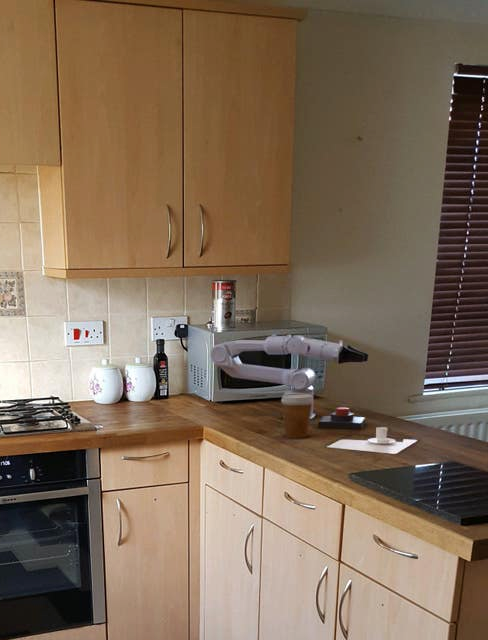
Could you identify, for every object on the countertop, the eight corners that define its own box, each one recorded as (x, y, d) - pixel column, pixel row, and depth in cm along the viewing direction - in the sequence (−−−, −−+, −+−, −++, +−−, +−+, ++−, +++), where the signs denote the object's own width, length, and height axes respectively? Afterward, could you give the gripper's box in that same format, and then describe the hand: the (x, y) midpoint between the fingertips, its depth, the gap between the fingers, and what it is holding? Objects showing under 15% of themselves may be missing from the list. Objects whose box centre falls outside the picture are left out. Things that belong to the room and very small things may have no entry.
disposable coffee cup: (314, 433, 264) (316, 393, 260) (309, 439, 255) (310, 398, 251) (283, 432, 267) (284, 392, 263) (277, 438, 258) (277, 397, 254)
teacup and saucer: (389, 446, 244) (390, 432, 243) (362, 444, 248) (362, 429, 247) (399, 441, 251) (400, 426, 250) (372, 438, 255) (373, 424, 254)
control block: (318, 428, 271) (318, 415, 270) (323, 422, 280) (323, 410, 279) (360, 430, 267) (361, 417, 266) (364, 424, 276) (365, 411, 275)
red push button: (334, 415, 271) (335, 409, 271) (336, 413, 275) (337, 407, 274) (347, 416, 270) (348, 409, 269) (349, 414, 274) (349, 407, 273)
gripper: (321, 337, 272) (364, 345, 268) (331, 337, 285) (372, 345, 281) (316, 360, 274) (359, 369, 270) (326, 359, 287) (367, 367, 283)
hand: (365, 358), depth 275 cm, fingers open, 7 cm apart
